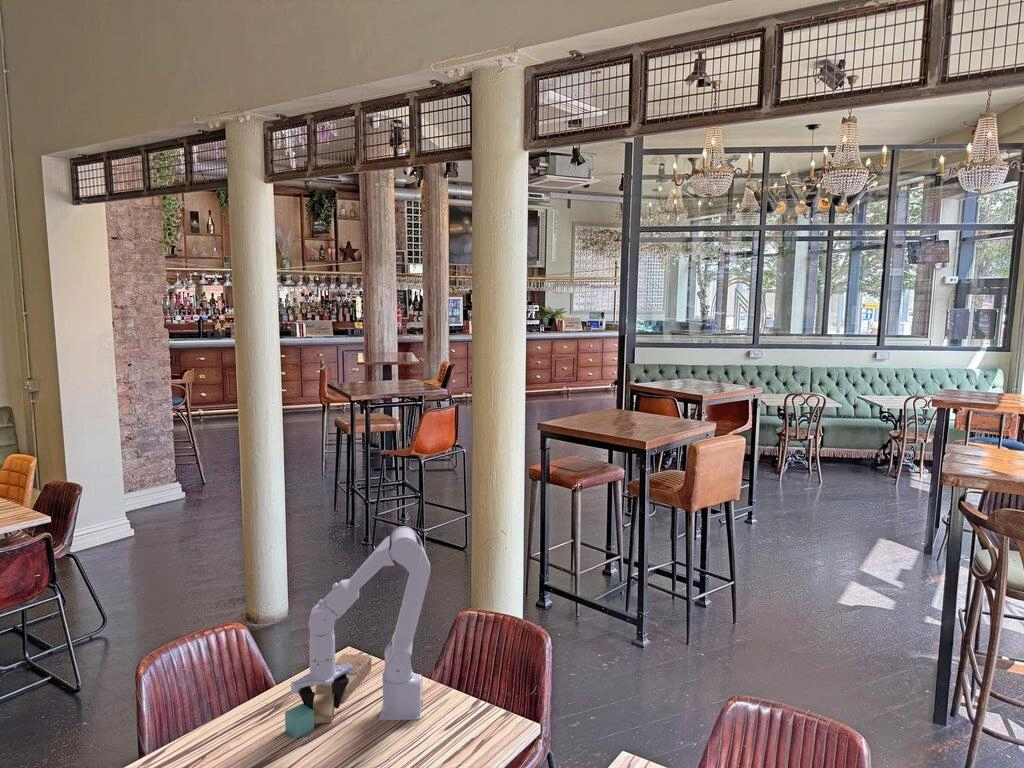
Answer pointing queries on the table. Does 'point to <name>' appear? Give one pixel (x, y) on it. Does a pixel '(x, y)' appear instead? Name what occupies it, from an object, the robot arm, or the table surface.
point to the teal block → (299, 720)
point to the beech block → (323, 708)
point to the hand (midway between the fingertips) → (322, 711)
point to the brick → (359, 673)
